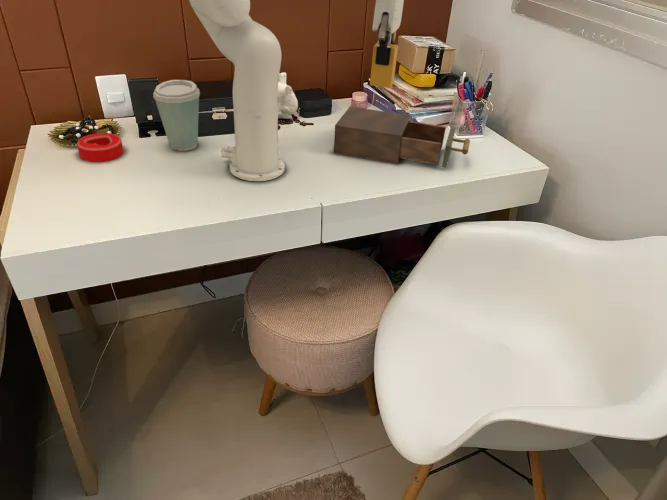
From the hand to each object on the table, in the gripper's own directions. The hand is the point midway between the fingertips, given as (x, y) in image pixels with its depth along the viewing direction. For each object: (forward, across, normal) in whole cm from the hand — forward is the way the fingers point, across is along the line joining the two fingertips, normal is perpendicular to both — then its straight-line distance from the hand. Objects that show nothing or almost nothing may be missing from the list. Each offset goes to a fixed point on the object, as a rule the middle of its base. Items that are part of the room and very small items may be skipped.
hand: (384, 61), depth 124 cm
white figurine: (+22, -11, -29) cm, 38 cm away
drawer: (+21, 0, +13) cm, 25 cm away
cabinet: (+22, 0, -1) cm, 22 cm away
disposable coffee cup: (+22, +18, -45) cm, 53 cm away
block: (+5, 0, 0) cm, 5 cm away
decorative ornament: (+22, +29, -60) cm, 70 cm away
